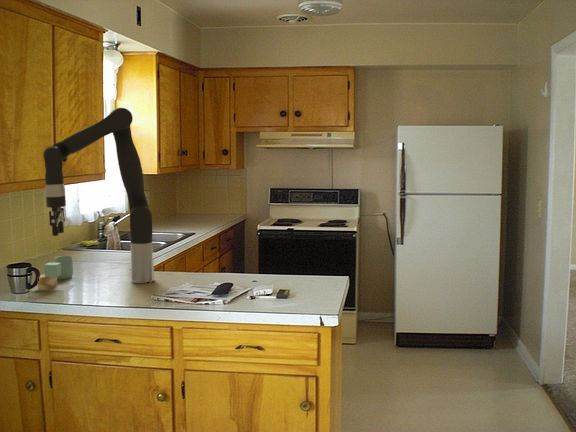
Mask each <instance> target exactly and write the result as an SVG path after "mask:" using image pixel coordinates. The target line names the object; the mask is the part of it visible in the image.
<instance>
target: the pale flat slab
mask: <svg viewBox="0 0 576 432" xmlns="http://www.w3.org/2000/svg"><path fill="white" fill-rule="evenodd" d="M74 287H76V284H60V285H59V284H57V287H56V288H54V289H44V290H38V284H37V285H35V286H34V287H32V288H31V289H29V292H32V291H33V292H34V291H35V292H40V291H41V292H43V291H45V292H47V291H53V292H54V291H58V292H59V291H70V290H72V289H73V288H74Z"/></svg>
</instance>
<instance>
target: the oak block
mask: <svg viewBox="0 0 576 432" xmlns="http://www.w3.org/2000/svg"><path fill="white" fill-rule="evenodd" d="M39 276H40V277H39ZM39 276H38V277H39V281H38V280H37V285H38V290H44V289H54V288H56V287H57V285H58V279H57V277H45V273H44V274H41V275H39Z"/></svg>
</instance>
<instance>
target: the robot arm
mask: <svg viewBox="0 0 576 432" xmlns="http://www.w3.org/2000/svg"><path fill="white" fill-rule="evenodd" d="M133 118H134V117H133V114H132V112H131V111H130V110H129V109H128V108H126V107H116V108H115V109H112V110H111V112H109V114H108V115H107V116H106V117H103V119H101V120H99V121H98V122H96V123H94V124H92V125H90V126H88V127H85V128H83V129H81V130H78V131H76V132H75V133H73V134H71V135H70V136H67V137H65V138H64V139H63V140H61V141H59V142H56V143H55V144H53V145H52V144H51V145H50V146H48V147H47V148H45V150H44V151H43V155H42V156H43V159H44V167H45V175H44V177H45V179H44V181H45V200H46V207H47V208H51V210H50V211H48V214H49V215H48V218H49V226H50V227H51V232H52V237H57V236H59V234H63V233H64V232H65V231H64V230H65V229H64V223H65V222H66V216H65V208H64V207H66V206H67V201H66V189H65V184H64V174H63V173H64V172H63V159H65V158H67V157H69V156H70V155H74V154H76V153H78V152H80V151H82V150H83V149H85V148H87V147H88V146H89V147H90V145H92V144H94V143H95V142H97V141H99V140H100V139H103V138H104V137H106V136H108V135H110V134H112V135H113V139H114V142H115V150H116V157H117V161H118V162H117V164H118V168H119V173H120V177H121V181H122V184H123V186H124V188H125V191H126V195H127V200H128V207H129V229H130V231H129V232H130V234H129V235H130V236H129V237H130V265H131V266H130V267H131V268H130V269H131V270H130V271H131V282H132V283H134V284H148V283H147V282H149V283H153V282H154V280H155V263H154V262H155V261H154V257H153V255H154V254H153V250H154V249H153V215H152V212H151V210H150V207H149V204H148V201H147V197H146V193H145V183H144V181H145V180H144V173H143V167H142V163H141V159H140V155H139V153H138V150H137V148H136V146H135V143H134V140H133V135H132V129H131V125H132V123H133ZM152 281H153V282H152Z"/></svg>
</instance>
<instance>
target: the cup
mask: <svg viewBox="0 0 576 432" xmlns="http://www.w3.org/2000/svg"><path fill="white" fill-rule="evenodd" d="M54 263H61V275H60V276H58V277H57V280H68V279H72V278H73V275H74V258H73V256H71V255H61V256H55V257H54Z"/></svg>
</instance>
